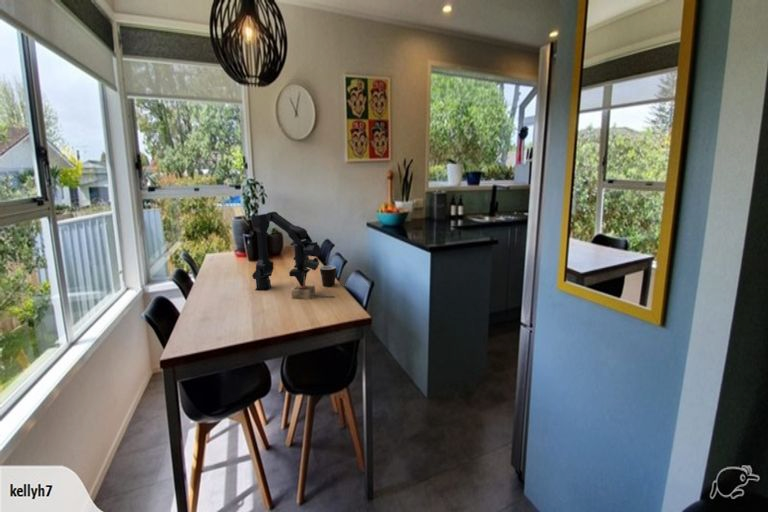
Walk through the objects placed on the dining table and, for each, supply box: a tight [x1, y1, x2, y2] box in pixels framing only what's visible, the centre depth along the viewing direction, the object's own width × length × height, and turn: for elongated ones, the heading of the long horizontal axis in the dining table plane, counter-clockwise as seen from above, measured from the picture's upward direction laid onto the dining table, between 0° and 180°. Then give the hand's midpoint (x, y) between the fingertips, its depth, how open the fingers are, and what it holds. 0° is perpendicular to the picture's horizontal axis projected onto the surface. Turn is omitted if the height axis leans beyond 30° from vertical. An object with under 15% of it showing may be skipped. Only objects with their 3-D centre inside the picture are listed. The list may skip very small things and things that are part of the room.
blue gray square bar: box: [312, 294, 336, 299], centre depth 183 cm, size 11×1×1 cm, turn 76°
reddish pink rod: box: [301, 272, 307, 290], centre depth 183 cm, size 2×2×9 cm
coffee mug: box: [319, 265, 337, 288], centre depth 201 cm, size 12×9×10 cm
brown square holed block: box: [291, 284, 316, 300], centre depth 184 cm, size 9×9×4 cm
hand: (302, 285), depth 183 cm, fingers closed on reddish pink rod, 2 cm apart
